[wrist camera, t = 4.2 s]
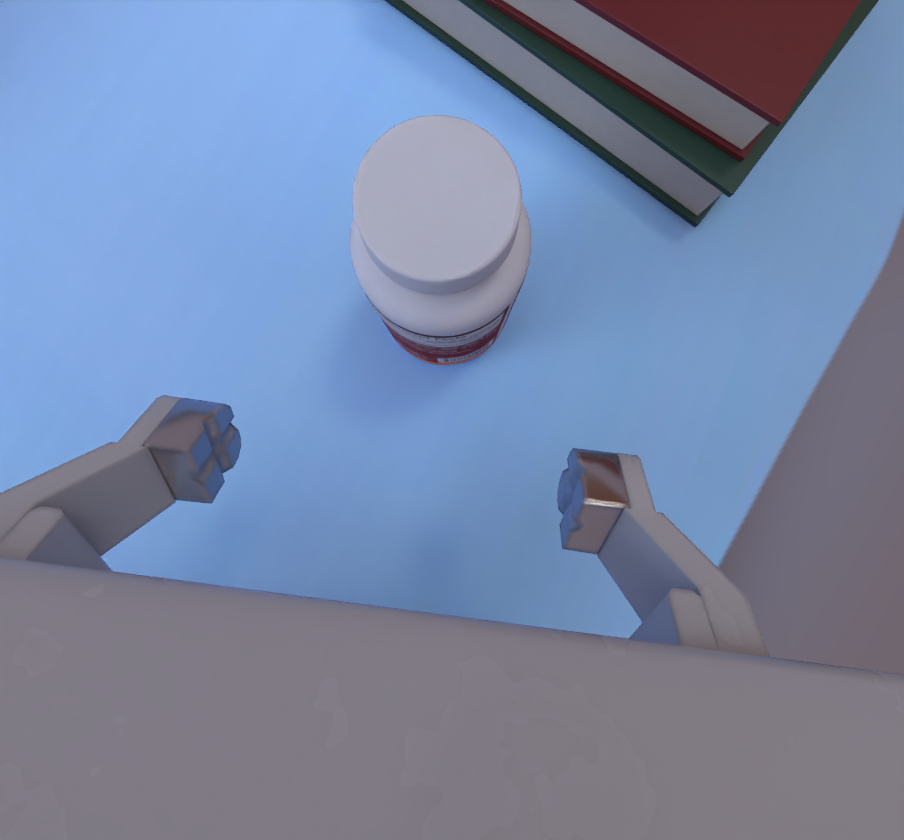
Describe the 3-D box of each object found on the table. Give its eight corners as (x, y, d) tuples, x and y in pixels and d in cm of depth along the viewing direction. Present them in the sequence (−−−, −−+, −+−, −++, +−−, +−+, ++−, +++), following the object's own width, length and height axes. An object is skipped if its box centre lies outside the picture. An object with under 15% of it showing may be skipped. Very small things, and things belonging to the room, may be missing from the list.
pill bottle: (424, 225, 24) (399, 42, 13) (528, 285, 24) (594, 153, 13) (361, 329, 24) (281, 234, 13) (467, 390, 23) (479, 349, 12)
